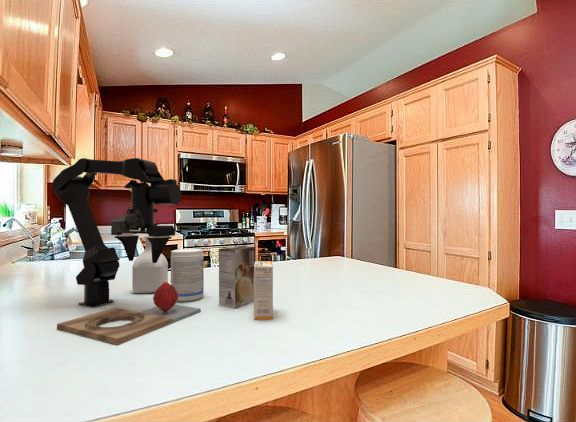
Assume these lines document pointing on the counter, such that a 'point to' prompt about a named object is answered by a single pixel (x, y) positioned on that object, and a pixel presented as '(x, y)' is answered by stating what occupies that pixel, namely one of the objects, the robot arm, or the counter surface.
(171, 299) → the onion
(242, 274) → the coffee box
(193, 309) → the plate
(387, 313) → the counter surface
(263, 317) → the supplement box
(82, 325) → the walnut bore board
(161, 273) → the soap bottle
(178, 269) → the supplement tub
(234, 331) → the counter surface
